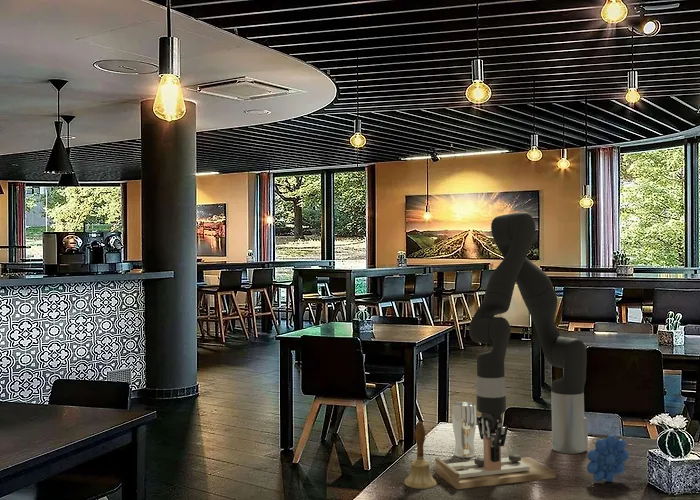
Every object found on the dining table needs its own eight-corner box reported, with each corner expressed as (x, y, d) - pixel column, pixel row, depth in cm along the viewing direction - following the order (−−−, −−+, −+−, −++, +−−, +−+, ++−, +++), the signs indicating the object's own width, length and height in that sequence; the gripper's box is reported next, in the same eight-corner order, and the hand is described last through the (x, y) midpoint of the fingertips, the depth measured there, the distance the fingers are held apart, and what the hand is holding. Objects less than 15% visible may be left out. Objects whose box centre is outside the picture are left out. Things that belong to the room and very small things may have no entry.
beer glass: (476, 459, 201) (475, 406, 201) (452, 458, 202) (451, 406, 202) (477, 452, 208) (476, 401, 208) (453, 451, 209) (452, 400, 209)
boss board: (528, 462, 197) (528, 446, 197) (555, 477, 184) (555, 460, 183) (435, 472, 190) (435, 455, 190) (456, 489, 176) (456, 471, 176)
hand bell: (438, 479, 184) (436, 418, 184) (434, 490, 176) (433, 426, 176) (406, 477, 186) (405, 417, 186) (401, 488, 178) (400, 425, 178)
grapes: (619, 474, 185) (619, 429, 185) (634, 483, 178) (634, 435, 178) (579, 478, 183) (578, 432, 183) (592, 486, 176) (591, 439, 176)
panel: (513, 460, 193) (512, 427, 193) (529, 470, 184) (529, 436, 184) (441, 468, 188) (441, 434, 188) (455, 478, 179) (454, 443, 179)
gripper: (517, 397, 177) (518, 466, 177) (492, 387, 191) (493, 450, 191) (489, 399, 175) (491, 469, 175) (466, 389, 189) (467, 453, 189)
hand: (492, 459), depth 183 cm, fingers closed on panel, 2 cm apart
